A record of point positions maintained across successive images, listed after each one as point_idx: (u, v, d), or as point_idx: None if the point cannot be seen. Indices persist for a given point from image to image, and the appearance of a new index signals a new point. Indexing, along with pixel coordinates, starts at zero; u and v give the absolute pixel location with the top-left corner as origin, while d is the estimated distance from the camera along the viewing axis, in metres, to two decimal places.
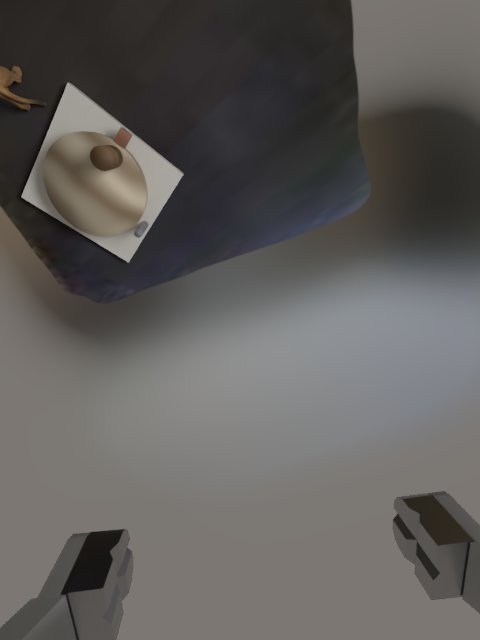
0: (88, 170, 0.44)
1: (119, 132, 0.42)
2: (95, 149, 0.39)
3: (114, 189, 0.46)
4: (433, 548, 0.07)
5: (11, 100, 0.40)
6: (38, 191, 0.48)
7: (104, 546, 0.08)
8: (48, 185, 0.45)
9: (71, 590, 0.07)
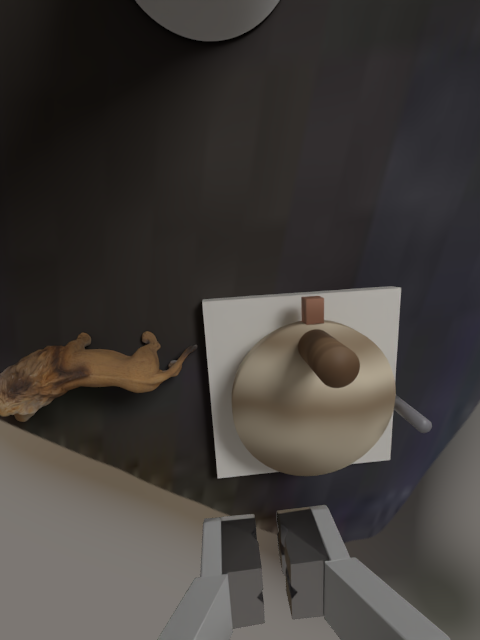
0: (293, 388, 0.26)
1: (308, 307, 0.24)
2: (323, 362, 0.20)
3: None
4: (289, 566, 0.07)
5: None
6: (232, 455, 0.31)
7: (243, 529, 0.08)
8: (254, 448, 0.27)
9: (230, 570, 0.07)
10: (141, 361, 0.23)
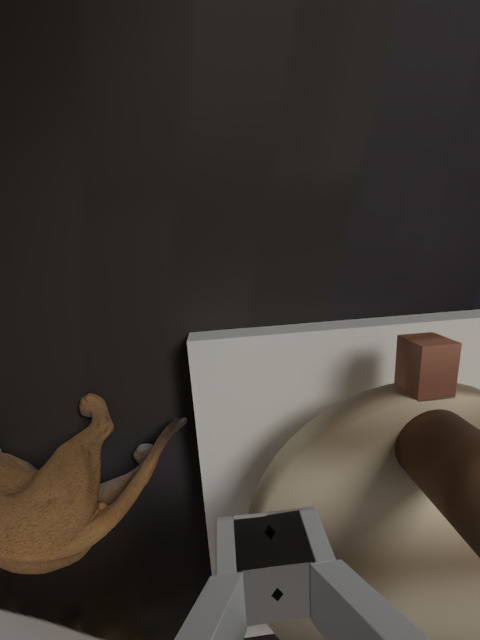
0: (379, 527, 0.12)
1: (425, 363, 0.11)
2: None
3: None
4: (275, 568, 0.07)
5: None
6: None
7: (256, 528, 0.08)
8: (292, 636, 0.13)
9: (244, 568, 0.07)
10: (48, 499, 0.10)
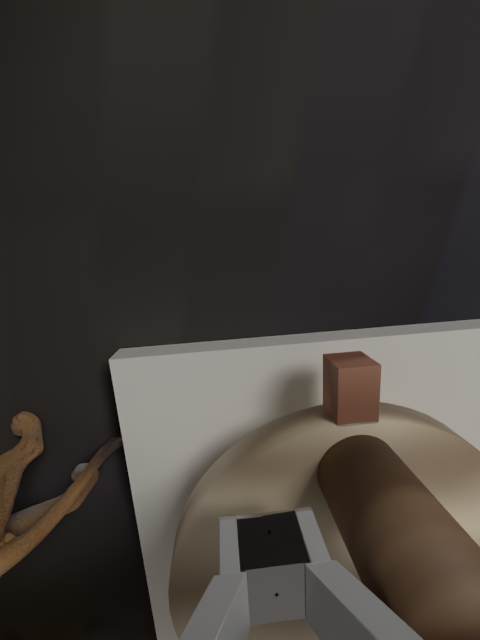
0: None
1: (343, 386, 0.10)
2: None
3: None
4: None
5: None
6: None
7: (259, 527, 0.08)
8: None
9: (248, 567, 0.07)
10: None
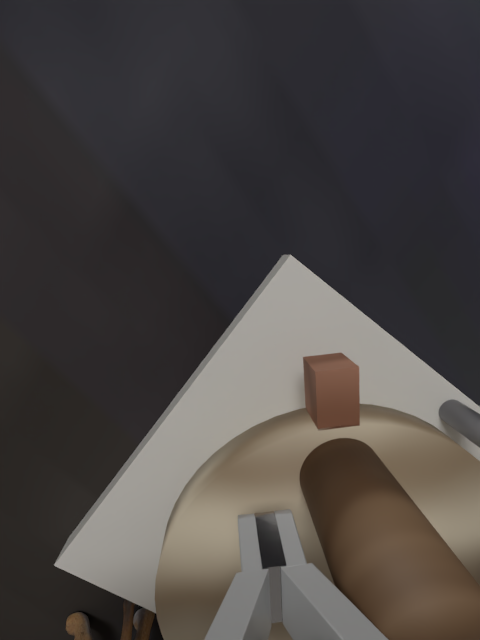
0: None
1: (321, 389, 0.10)
2: None
3: None
4: None
5: None
6: None
7: (278, 525, 0.08)
8: None
9: (270, 565, 0.07)
10: None
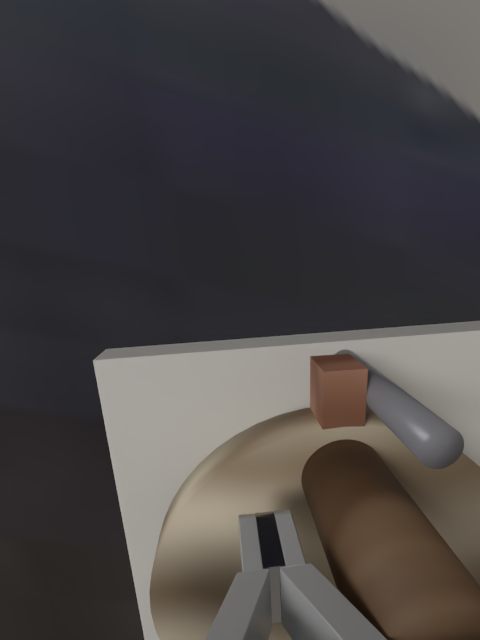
0: None
1: (328, 389, 0.10)
2: None
3: None
4: None
5: None
6: None
7: (279, 525, 0.08)
8: None
9: (271, 564, 0.07)
10: None
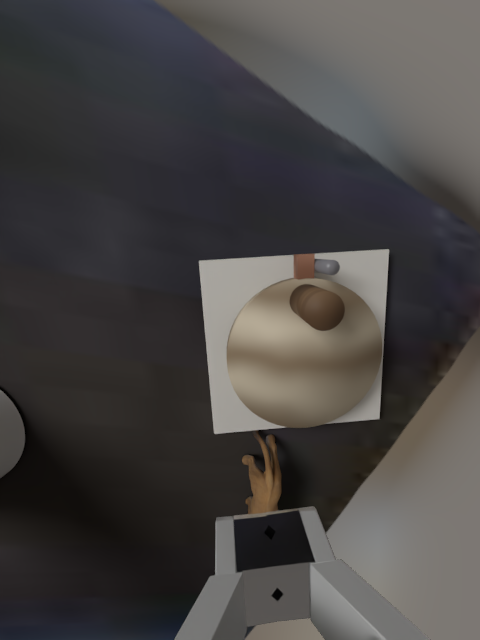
0: (285, 342, 0.27)
1: (299, 262, 0.26)
2: (310, 305, 0.22)
3: (329, 340, 0.28)
4: (275, 568, 0.07)
5: (274, 459, 0.32)
6: (358, 406, 0.33)
7: (256, 528, 0.08)
8: (247, 399, 0.28)
9: (244, 568, 0.07)
10: (255, 490, 0.30)
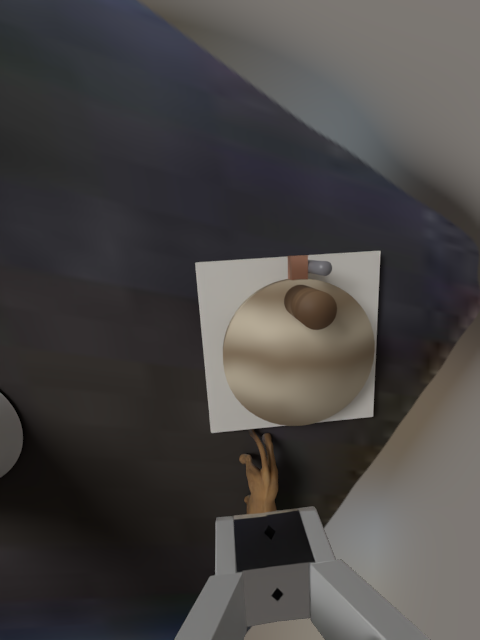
0: (280, 341, 0.28)
1: (293, 263, 0.27)
2: (303, 305, 0.22)
3: (323, 339, 0.28)
4: (275, 568, 0.07)
5: (271, 457, 0.32)
6: (352, 405, 0.34)
7: (256, 528, 0.08)
8: (243, 398, 0.29)
9: (244, 568, 0.07)
10: (252, 488, 0.30)
